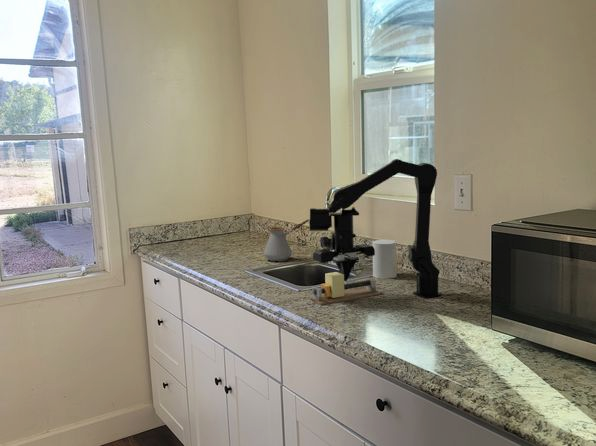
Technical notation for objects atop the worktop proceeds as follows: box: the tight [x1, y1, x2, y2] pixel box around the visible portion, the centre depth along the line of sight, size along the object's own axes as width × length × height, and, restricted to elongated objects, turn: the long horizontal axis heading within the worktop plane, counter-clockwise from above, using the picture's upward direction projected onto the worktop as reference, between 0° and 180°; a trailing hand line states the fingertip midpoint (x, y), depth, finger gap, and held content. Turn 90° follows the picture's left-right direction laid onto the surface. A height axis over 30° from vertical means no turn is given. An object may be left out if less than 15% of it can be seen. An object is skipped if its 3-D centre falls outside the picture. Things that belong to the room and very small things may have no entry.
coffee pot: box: [263, 218, 310, 262], centre depth 233 cm, size 21×12×15 cm, turn 119°
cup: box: [371, 239, 398, 280], centre depth 198 cm, size 8×8×12 cm
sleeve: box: [324, 271, 345, 298], centre depth 172 cm, size 4×4×7 cm
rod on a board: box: [307, 277, 382, 306], centre depth 174 cm, size 8×21×4 cm, turn 116°
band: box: [320, 283, 330, 297], centre depth 171 cm, size 3×1×3 cm, turn 26°
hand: (344, 280), depth 174 cm, fingers closed
